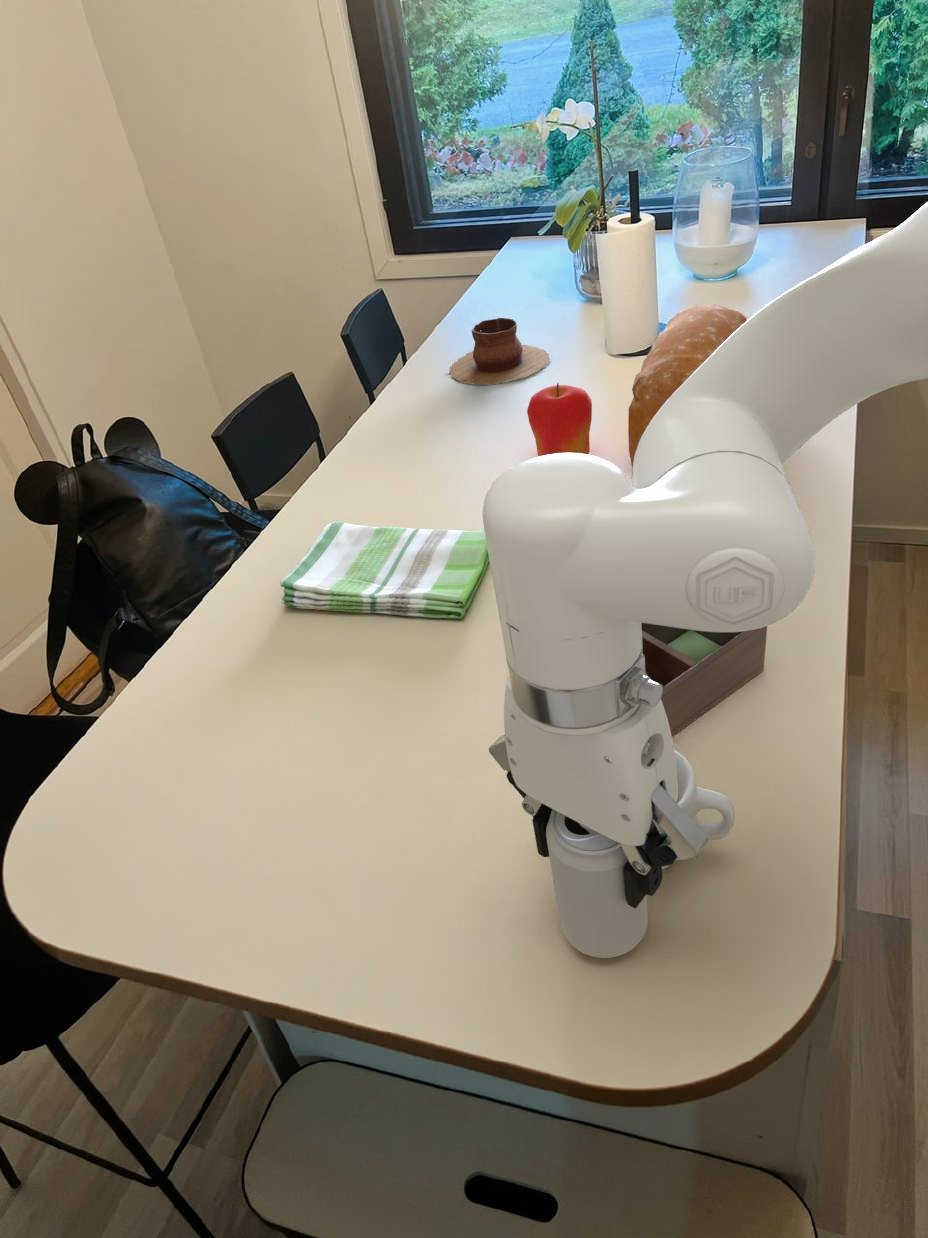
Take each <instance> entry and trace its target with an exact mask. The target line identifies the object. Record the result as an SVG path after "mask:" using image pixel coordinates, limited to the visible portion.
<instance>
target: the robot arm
mask: <svg viewBox="0 0 928 1238" xmlns="http://www.w3.org/2000/svg"><path fill="white" fill-rule="evenodd" d="M748 319H749V320H748V321H746V322H745V323H744V324H743V325H742V326H741V327H739V328H738V329H737V330H736V331H735V332H734V333H733V334H732V335H731V336H730V337H729V338H728V339H727V340H726V341H725V342H724V343H723V344H722V345H720V346H719V347H718V348H717V349H716V350H715V351H714V352H713V353H712V354H711V356H710V357H709V358H708V359H707V360H706V361H705V362H704V363H703V364H702V365H701V366H700V367H699V368H698V369H697V370H696V371H695V372H694V373H693V374H692V375H691V376H690V377H689V378H688V379H687V380H686V381H685V382H684V383H683V384H682V385H681V386H680V387H679V388H678V389H677V390H676V391H675V392H674V393H673V394H672V396H671V397H670V398H669V399H668V400H667V401H666V402H665V403H664V404H663V406H662V407H661V408H660V409H659V411H658V412H657V413H656V415H655V416H654V417H653V419H652V420H651V421H650V423H649V425H648V426H647V428H646V430H645V432H644V433H643V435H642V437H641V439H640V441H639V444H638V447H637V450H636V453H635V456H634V462H633V470H632V483H631V482H630V480H629V479H628V477H627V476H626V474H624V473H623V471H622V470H621V469H620V468H619V467H618V466H616V465H615V464H613V463H612V462H610V461H608V460H606V459H604V458H601V457H598V456H596V455H591V454H588V455H587V454H580V453H556V454H548V455H543V456H539V457H538V456H535V457H531V458H528V459H526V460H524V461H521V462H518V463H517V464H514V465H513V466H511V467H510V468H508V469H506V470H505V471H503V473H501V474H500V475H499V476H498V477H496V478H495V480H494V481H493V482H492V483H491V484H490V486H489V488H488V490H487V492H486V494H485V496H484V500H483V505H482V506H483V507H482V523H483V531H484V532H485V538H486V543H487V549H488V555H489V566H490V571H491V576H492V577H491V578H492V582H493V583H492V584H493V589H494V594H495V600H496V603H497V604H496V605H497V611H498V617H499V623H500V629H501V634H502V635H501V636H502V642H503V647H504V654H505V659H506V664H507V665H506V666H507V670H508V676H507V680H506V685H505V690H504V691H505V692H504V700H503V701H504V702H503V703H504V704H503V727H504V734H503V735H500V736H499V737H498V738H497V739H496V740H495V741H494V742H493V743H492V744H491V745H490V746H489V747H488V752H489V754H490V755H491V756H492V758H493V759H494V760H495V761H496V762H497V764H498V765H499V767H500V768H501V769H502V770H503V771H506V778H507V780H508V781H507V782H508V783H509V784H510V785H512V786H513V788H514V789H515V790H516V791H517V792H518V794H519V795H520V796H521V797H522V798H523V799H522V802H521V808H522V809H523V810H524V812H526V814H528V815H530V816H532V827H533V831H534V837H535V838H534V839H535V845H536V849H537V854H538V855H539V856H541V857H543V858H549V851H548V845H547V838H546V828H547V824H548V821H549V819H550V815H551V811H552V809H554V810H556V811H558V812H559V813H561V814H563V815H565V816H567V817H569V818H571V819H573V820H575V821H577V822H578V823H580V824H582V825H584V826H586V827H588V828H590V829H592V830H594V831H596V832H598V833H600V834H602V835H604V836H606V837H608V838H610V839H612V840H614V841H616V842H619V844H620V846H621V847H622V849H623V851H624V853H625V855H626V857H627V859H628V862H627V863H626V865H625V866H624V869H623V874H624V886H625V897H626V901H627V904H628V905H629V906H631V907H633V908H637V906H638V905H639V904H640V902H641V901H642V900H643V898H644V897H645V896H646V894H647V896H649V897H653V896H654V895H655V893H656V892H657V891H658V890H659V888H660V886H661V884H662V882H663V870H662V866H668V865H670V866H672V865H674V863H675V862H676V861H681V862H682V861H687V860H690V859H695V858H697V857H698V856H699V854H700V853H701V852H702V850H703V849H704V847H705V846H706V845H707V843H708V841H709V840H707V838H706V836H705V835H704V834H703V833H702V831H701V830H700V829H699V828H698V827H697V826H696V825H695V823H694V822H693V821H692V820H691V819H690V818H689V817H688V816H687V814H686V813H685V812H684V811H683V810H682V809H681V808H680V806H679V805H678V804H677V803H676V802H677V799H678V781H677V769H676V760H675V753H674V749H675V747H674V742H673V741H674V740H673V737H672V736H671V731H670V727H669V723H668V719H667V715H666V712H665V709H664V706H663V703H662V700H661V696H662V693H663V686H662V685H661V684H659V683H657V682H654V681H652V680H651V678H650V677H648V675H647V674H646V669H645V655H643V645H642V624H641V623H647V624H654V625H661V626H668V627H675V628H681V629H689V630H697V631H707V632H742V631H749V630H754V629H759V628H763V627H765V626H767V627H768V626H770V625H773V624H775V623H777V622H779V621H781V620H783V619H785V618H786V617H788V615H790V614H791V613H792V612H794V611H795V610H796V609H797V608H798V607H799V606H800V605H801V604H802V603H803V601H804V600H805V598H806V597H807V596H808V594H809V591H810V590H811V586H812V584H813V581H814V578H815V573H816V553H815V547H814V543H813V539H812V534H811V531H810V530H809V526H808V525H807V521H806V519H805V517H804V514H803V512H802V510H801V507H800V505H799V503H798V501H797V498H796V496H795V492H794V491H793V489H792V486H791V484H790V481H789V478H788V476H787V473H786V471H785V469H784V466H783V464H784V463H785V462H786V461H787V460H788V459H789V458H790V457H792V455H794V454H795V453H796V452H797V451H798V450H799V449H801V447H803V446H804V445H805V444H807V443H808V441H809V440H810V439H812V438H813V437H814V436H815V435H817V434H818V433H819V432H820V431H822V429H823V428H825V427H826V426H828V425H829V424H830V423H832V422H833V421H834V420H836V418H838V417H839V416H841V415H842V414H844V413H845V412H847V411H848V410H850V409H851V408H853V407H854V406H857V405H858V404H860V403H861V402H863V401H865V400H866V399H867V400H868V399H869V398H870V397H872V396H874V395H877V394H878V393H882V392H883V391H885V390H889V389H891V388H895V387H898V386H901V385H903V384H907V383H910V382H917V381H920V380H921V381H922V380H927V379H928V201H926V202H925V203H924V204H922V206H921V207H920V208H918V210H916V211H915V212H914V213H913V214H911V215H910V216H909V217H908V218H907V219H906V220H904V221H903V222H902V223H900V224H899V225H898V226H896V227H895V228H893V229H892V230H890V231H889V232H887V233H885V234H883V235H881V236H879V237H877V238H875V239H873V240H872V241H870V242H868V243H865V244H864V245H862V246H860V247H857V249H855V250H853V251H851V252H849V253H848V254H846V255H845V256H842V258H840V259H838V260H837V261H835V262H834V263H832V264H830V265H829V266H827V267H825V268H824V269H822V270H821V271H819V272H817V273H815V274H813V276H810V277H809V278H807V279H805V280H803V281H801V282H800V283H798V284H797V285H795V286H794V287H792V288H790V289H789V290H787V291H785V292H784V293H782V294H781V295H780V296H778V297H776V298H775V299H774V300H772V301H770V302H769V303H768V304H766V305H765V306H764V307H762V308H761V309H760V310H758V311H757V312H756V313H754V314H753V315H752V316H751V317H750V318H748ZM632 484H633V485H632ZM646 835H647V837H646ZM674 861H675V862H674Z"/></svg>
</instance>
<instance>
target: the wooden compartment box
mask: <svg viewBox="0 0 928 1238" xmlns="http://www.w3.org/2000/svg"><path fill="white" fill-rule="evenodd" d="M641 624H642V645H643V655H645V669H646V674H647V675H648V677H650V678H651V680H652V681H654V682H657V683H659V684H661V685H662V686H663V693H662V696H661V700H662V703H663V706H664V709H665V712H666V715H667V719H668V723H669V727H670V731H671V736H672V738H674V737H675V736H676V735H677V734H678V733H680V732H682V731H683V730H684V729H685V728H687V727H688V726H689V725H691V724H692V723H694V722H695V721H697V720H698V719H699V718H701V717H702V716H703V715H704V714H707V712H709V711H710V710H711V709H713V708H715V707H716V706H717V705H718V704H720V703H721V702H722V701H724V700H726V698H728V697H730V695H732V694H734V693H735V692H736V691H738V690H739V689H740V688H742V687H743V686H745V685H746V684H747V683H748V682H750V681H752V679H754V678H756V677H757V676H758V675H760V674H761V673H763V671H765V660H766V659H765V656H766V646H767V633H768V626H765V627H763V628H759V629H754V630H749V631H742V632H707V631H697V630H689V629H681V628H675V627H668V626H661V625H654V624H647V623H641Z"/></svg>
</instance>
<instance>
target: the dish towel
mask: <svg viewBox="0 0 928 1238" xmlns="http://www.w3.org/2000/svg"><path fill="white" fill-rule="evenodd" d="M489 563H490V560H489V555H488V549H487V543H486V538H485V532H484V530H483V531H482V530H456V529H441V528H440V529H425V528H410V527H398V526H369V525H362V524H361V525H360V524H350V523H347V522H342V521H333V522H330V523H327V524H326V525H325V526H324V527H323V528H322V529H321V531H320V532H319V534H318V536H317V537H316V538H315V540H314V542H313V543H312V544H311V546H310V547H309V549H308V550H307V552H306V553H305V554H304V556H303V557H302V558H301V559H300V561H299V562H298V563H297V564H296V565H295V567H294V568H293V569H292V570H291V571H290V572H289V574H287V575H286V576H284V577H283V579H281V580H280V581H279V584H280V587H281V588H283V590H282V592H283V596H282V597H281V605H283V606H284V607H288V608H292V609H307V610H308V609H309V610H318V611H319V610H323V611H332V612H347V613H357V614H358V613H359V614H360V613H361V614H363V613H369V614H371V613H373V614H384V615H393V616H402V617H404V616H405V617H423V618H432V619H433V618H434V619H462V618H463V617H464V616H465V614H466V611H467V609H468V608H469V606H470V605H471V603H472V601H473V598H474V596H475V593H476V591H477V589H478V587H479V585H480V584H481V582H482V580H483V578H484V575H485V573H486V570H487V568H488V564H489Z"/></svg>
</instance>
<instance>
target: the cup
mask: <svg viewBox="0 0 928 1238" xmlns="http://www.w3.org/2000/svg"><path fill="white" fill-rule="evenodd" d="M674 753H675V760H676V769H677V781H678V799H677V802H676V803H677V804H678V805H679V806H680V808H681V809H682V810H683V811H684V812H685V813H686V814H687V816H688V817H689V818H690V819H691V820H692V821H693V822H694V823H695V825H696V826H697V827H698V828H699V829H700V830H701V831H702V833H703V834H704V835H705V836H706V838H707V840H708V841H718V840H722V839H724V838H726V836H728V835H729V834H730V832H731V831H732V829H733V827H734V823H735V808H734V805H733V803H732V800H731V799H730V798H729V797H728V796H727V795H725V794H723V793H721V792H719V791H716V790H713V789H707V788H702V787H699V786H698V785H697V779H696V774H695V771H694V768H693V766H692V765H691V763H690V761H688V759H687V758H686V757H685V756H684V755H683V754H682V753H680V752H679V751H678V750H676V749H675V748H674ZM706 809H707V810H714V811H717V812H719V813H720V814H721V816H722V818H721V819H720V820H719V821H718V822H716V823H706V822H704V821H702V820H700V819H699V818H698V816H697V814H698V813H699V812H700V811H702V810H706ZM646 837H647V835H646ZM675 862H676V861H674V863H675ZM670 866H671V865H668V866H662V871H663V870H665V869H668V868H670Z"/></svg>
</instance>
